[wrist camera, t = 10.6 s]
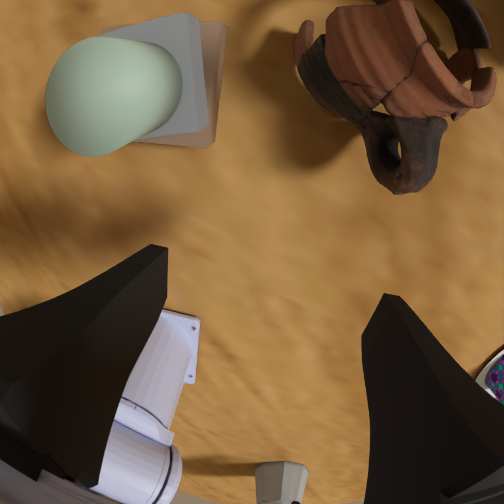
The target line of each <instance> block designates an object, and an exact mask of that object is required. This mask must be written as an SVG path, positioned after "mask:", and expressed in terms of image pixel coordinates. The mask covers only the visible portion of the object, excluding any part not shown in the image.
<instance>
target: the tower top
mask: <svg viewBox="0 0 504 504" xmlns="http://www.w3.org/2000/svg"><path fill="white" fill-rule="evenodd" d="M97 37H108V38H119V39H129V40H137V41H145V42H152V43H155V44H158V45H160V46H162V47H163V48H165V49H166V50H168V51H169V52H170V53H171V54H172V56H173V57H174V58H175V60H176V61H177V63H178V65H179V68H180V70H181V74H182V81H183V89H182V96H181V100H180V103H179V105H178V108H177V109H176V111H175V113H174V114H173V116H172V117H171V118H170V119H169V121H168V122H167V123H166V124H164V125H163V126H162V127H160V128H159V129H157V130H155V131H153V132H151V133H149V134H147V135H144V136H142V137H140V138H138V139H144V138H151V137H158V136H166V135H174V134H182V133H191V132H199V131H201V130H202V129H204V128H206V127H207V126H209V119H208V109H207V100H206V90H205V80H204V69H203V59H202V48H201V37H200V25H199V18H197V17H196V16H194V15H192V14H190V13H188V12H184V13H179V14H174V15H170V16H165V17H161V18H157V19H153V20H149V21H145V22H141V23H138V24H134V25H131V26H127V27H124V28H121V29H118V30H114V31H111V32H108V33H105V34H102V35H100V36H97ZM138 139H136V140H138Z"/></svg>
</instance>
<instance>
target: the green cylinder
mask: <svg viewBox="0 0 504 504" xmlns="http://www.w3.org/2000/svg"><path fill="white" fill-rule="evenodd" d="M182 89H183V81H182V74H181V70H180V68H179V65H178V63H177V61H176V60H175V58H174V57H173V56H172V54H171V53H170V52H169V51H168V50H166V49H165V48H163V47H162V46H160V45H158V44H155V43H152V42H145V41H137V40H129V39H119V38H108V37H92V38H87V39H84V40H82V41H79V42H77V43H76V44H74V45H72V46H71V47H70V48H68V49H67V50H66V51H65V52H64V53H63V54H62V55H61V57H60V58H59V59H58V61H57V62H56V64H55V65H54V67H53V69H52V71H51V74H50V76H49V79H48V83H47V87H46V95H45V105H46V113H47V117H48V121H49V124H50V126H51V128H52V130H53V132H54V134H55V135H56V137H57V138H58V140H59V141H60V142H61V143H62V144H63V145H64V146H65V147H66V148H68V149H69V150H71V151H72V152H74V153H77V154H79V155H83V156H88V157H97V156H102V155H105V154H108V153H110V152H112V151H114V150H116V149H118V148H120V147H122V146H124V145H126V144H128V143H130V142H132V141H134V140H136V139H138V138H140V137H142V136H144V135H147V134H149V133H151V132H153V131H155V130H157V129H159V128H160V127H162V126H163V125H164V124H166V123H167V122H168V121H169V119H170V118H171V117H172V116H173V114H174V113H175V111H176V109H177V108H178V105H179V103H180V100H181V96H182Z"/></svg>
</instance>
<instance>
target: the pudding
mask: <svg viewBox="0 0 504 504" xmlns="http://www.w3.org/2000/svg"><path fill="white" fill-rule="evenodd" d="M502 355H503V356H502ZM501 356H502V357H501ZM500 357H501V358H500ZM499 358H500V359H499ZM498 359H499V361H498V363H497V364H496V365H495V366H494V367H492V366H493V364H494V363H495V362H496V361H497V360H498ZM491 367H492V368H491ZM490 368H491V369H490ZM489 369H490V371H489ZM488 371H489V372H488ZM487 372H488V375H487V376H488V377H489V378H488V380H487V381H486V385H487V386H488V387H487V386H486V385H485V377H486V374H487ZM476 382H477V383H478V384H479V385H480V386H481V387H482V388H483V389H485V390H486V391H487V392H488V393H489V394H490V395H492V396H493V397H494V398H495V397H496V398H497V399H498V400H499V402H500V403H501V404H503V405H504V350H502V351H501V352H500V353H499V354H498V355H497V356H495V357H494V358H493V359H492V360H491V361H490V362H489V363H488V364H487V365H486V366H485V368H484V369H483V370H482V371H481V373H480V374H479V376H478V377H477V379H476Z"/></svg>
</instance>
